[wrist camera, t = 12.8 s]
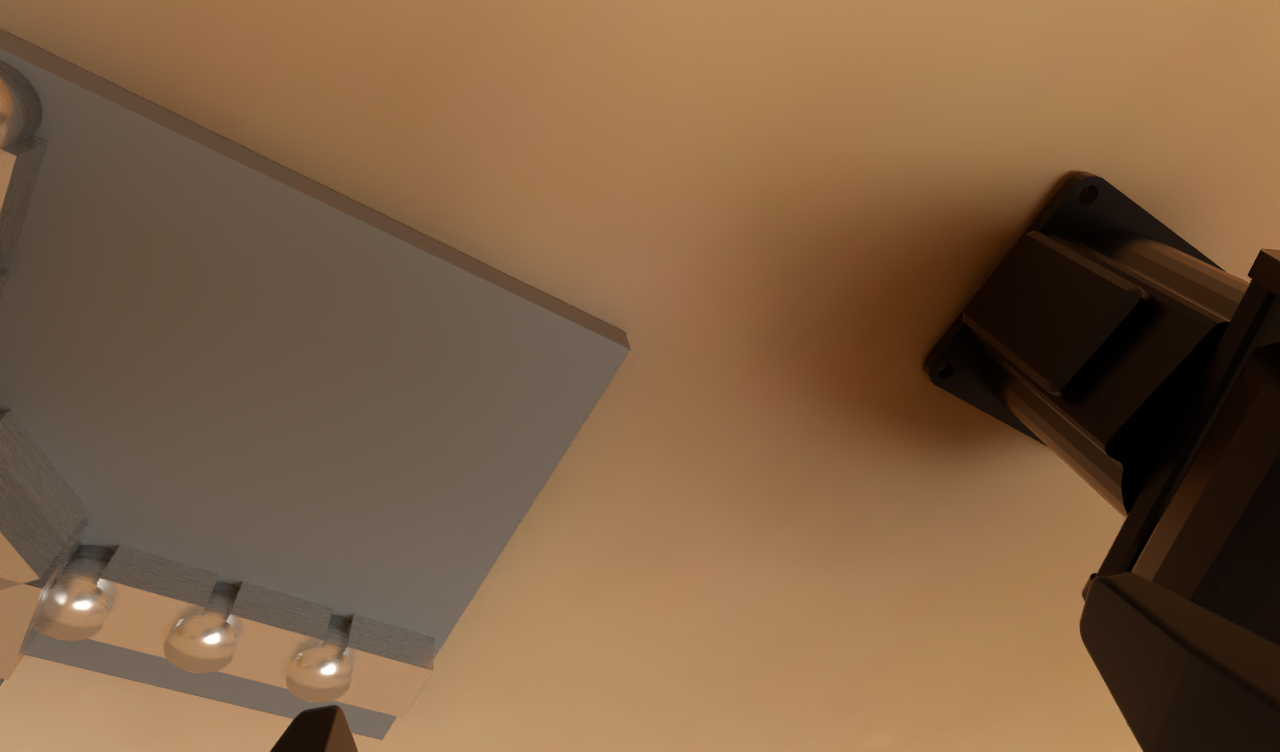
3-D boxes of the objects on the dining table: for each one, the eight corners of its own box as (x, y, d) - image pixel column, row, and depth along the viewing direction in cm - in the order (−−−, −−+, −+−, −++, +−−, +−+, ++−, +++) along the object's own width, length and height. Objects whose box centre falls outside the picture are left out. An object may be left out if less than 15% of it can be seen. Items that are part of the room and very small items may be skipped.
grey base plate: (625, 332, 21) (630, 349, 20) (385, 712, 26) (382, 739, 25) (-185, -62, 14) (-229, -62, 14) (-289, 542, 20) (-326, 570, 19)
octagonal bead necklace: (616, 350, 20) (630, 400, 18) (365, 748, 25) (353, 822, 23) (-268, -67, 13) (-408, -68, 11) (-356, 579, 19) (-464, 660, 17)
